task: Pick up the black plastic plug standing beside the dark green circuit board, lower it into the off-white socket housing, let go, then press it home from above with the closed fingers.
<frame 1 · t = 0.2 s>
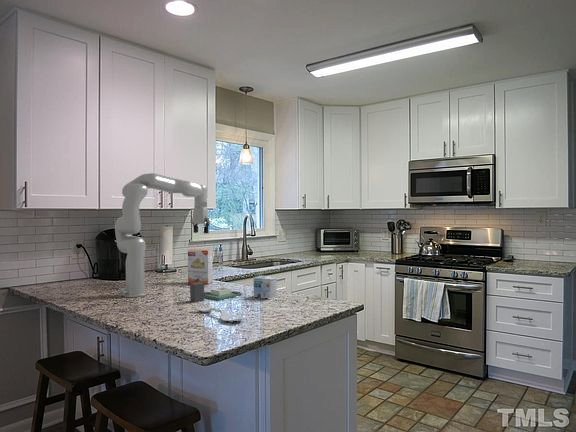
hand: (200, 233, 268), 31 cm above the countertop, tool pointing down, fingers open, 9 cm apart
plug: (197, 301, 220), on the countertop
cracker box: (200, 283, 268), on the countertop
board: (220, 296, 231), on the countertop
light bulb box: (265, 297, 228), on the countertop
spoon: (218, 317, 190), on the countertop
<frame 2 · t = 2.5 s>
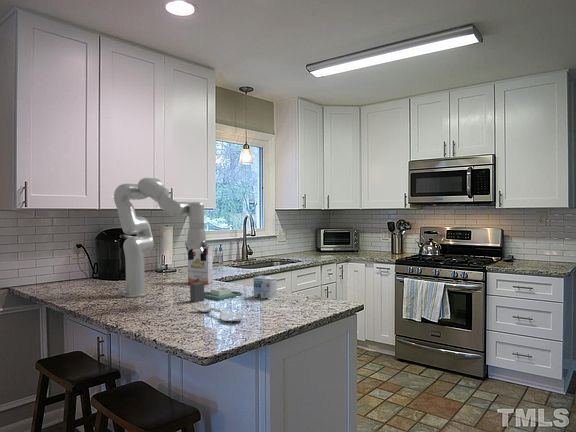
hand: (197, 260, 220), 21 cm above the countertop, tool pointing down, fingers open, 9 cm apart
nothing on the countertop moved.
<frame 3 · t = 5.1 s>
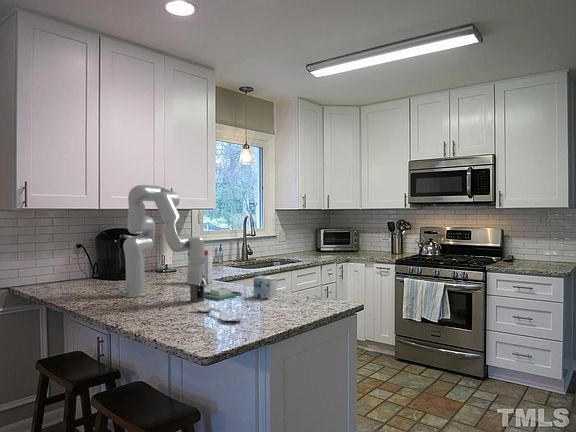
hand: (197, 297, 220), 2 cm above the countertop, tool pointing down, fingers closed on plug, 3 cm apart
plug: (197, 301, 220), on the countertop, touching gripper
everything else where it was.
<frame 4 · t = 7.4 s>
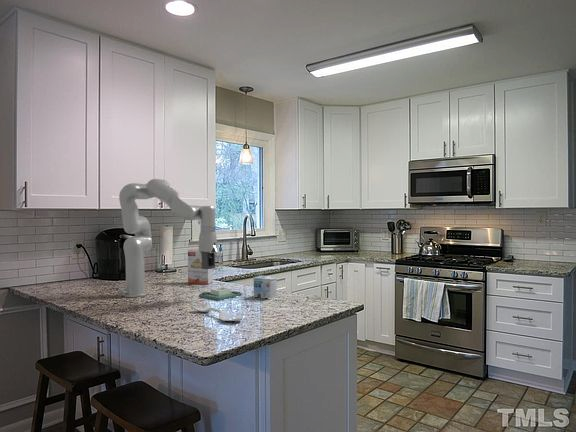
hand: (208, 264, 225), 18 cm above the countertop, tool pointing down, fingers closed on plug, 4 cm apart
plug: (208, 268, 225), point 16 cm above the countertop, touching gripper
everything else where it was.
when the fingers open (5 cm above the countertop, at t = 10.0 s): plug drops 1 cm, resting on board.
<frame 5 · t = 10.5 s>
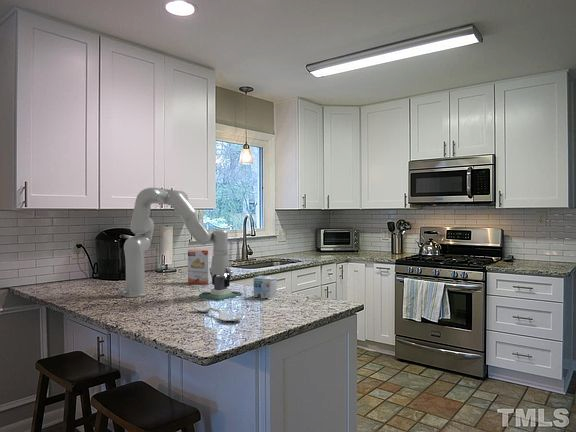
hand: (220, 285, 231), 6 cm above the countertop, tool pointing down, fingers open, 9 cm apart
plug: (220, 293, 231), point 1 cm above the countertop, touching board
everything else where it was.
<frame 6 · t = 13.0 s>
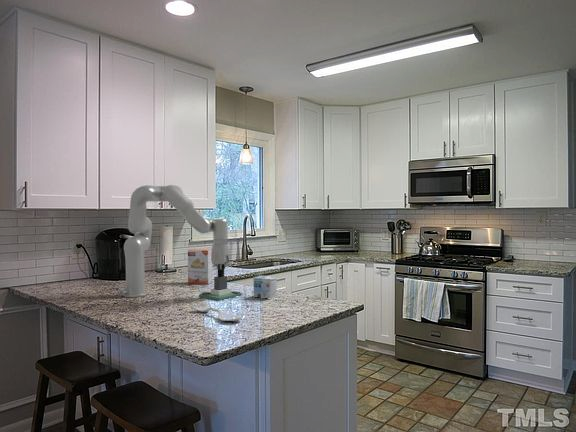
hand: (220, 276, 231), 11 cm above the countertop, tool pointing down, fingers closed
plug: (220, 293, 231), point 2 cm above the countertop, touching board, gripper
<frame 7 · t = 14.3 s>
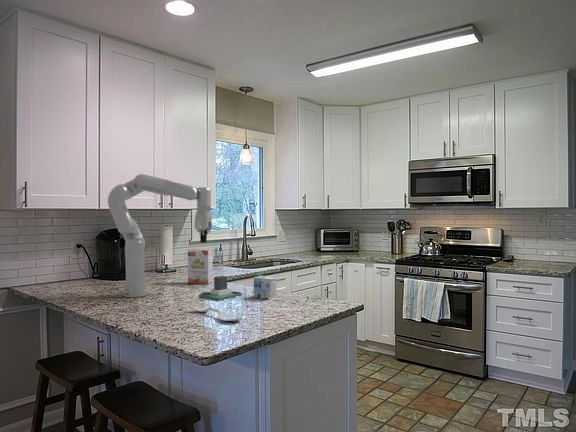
hand: (203, 242, 243), 28 cm above the countertop, tool pointing down, fingers closed
plug: (220, 293, 231), point 1 cm above the countertop, touching board
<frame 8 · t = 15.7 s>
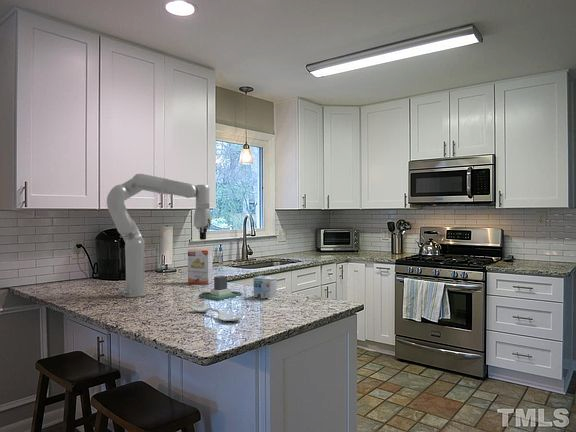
hand: (202, 239, 244), 29 cm above the countertop, tool pointing down, fingers closed
at the end: plug 0.1 cm off-centre on the board, point 1.5 cm above the board's base; plug tilted 0° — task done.
